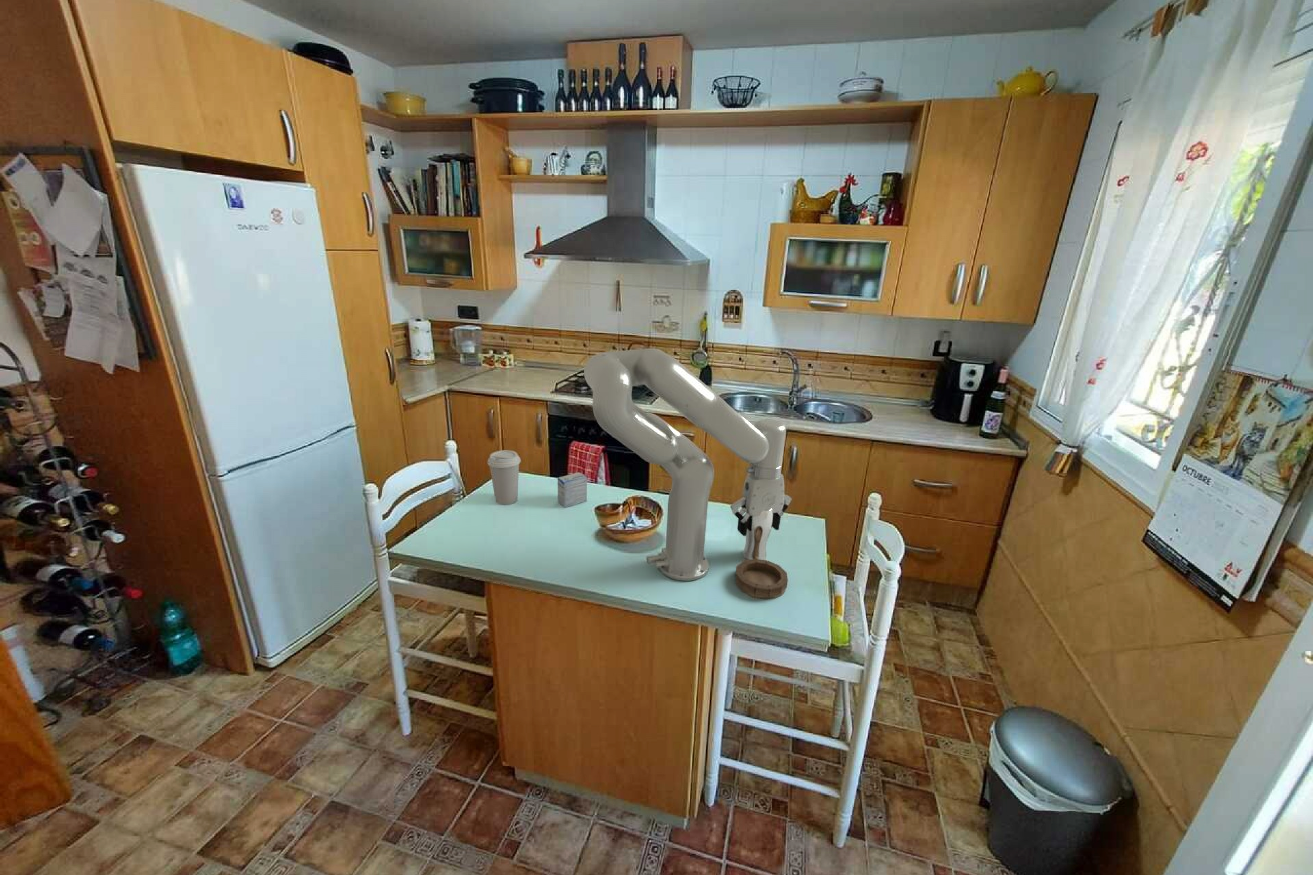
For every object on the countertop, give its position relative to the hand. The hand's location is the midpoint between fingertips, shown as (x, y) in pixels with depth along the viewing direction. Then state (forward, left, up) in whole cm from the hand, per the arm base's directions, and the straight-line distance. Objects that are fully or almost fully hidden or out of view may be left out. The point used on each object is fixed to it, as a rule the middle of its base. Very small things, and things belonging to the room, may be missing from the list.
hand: (758, 530), depth 133 cm
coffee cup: (-58, +50, -8) cm, 77 cm away
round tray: (-5, -11, -7) cm, 14 cm away
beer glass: (0, 0, -8) cm, 8 cm away
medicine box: (-39, +43, -8) cm, 59 cm away
